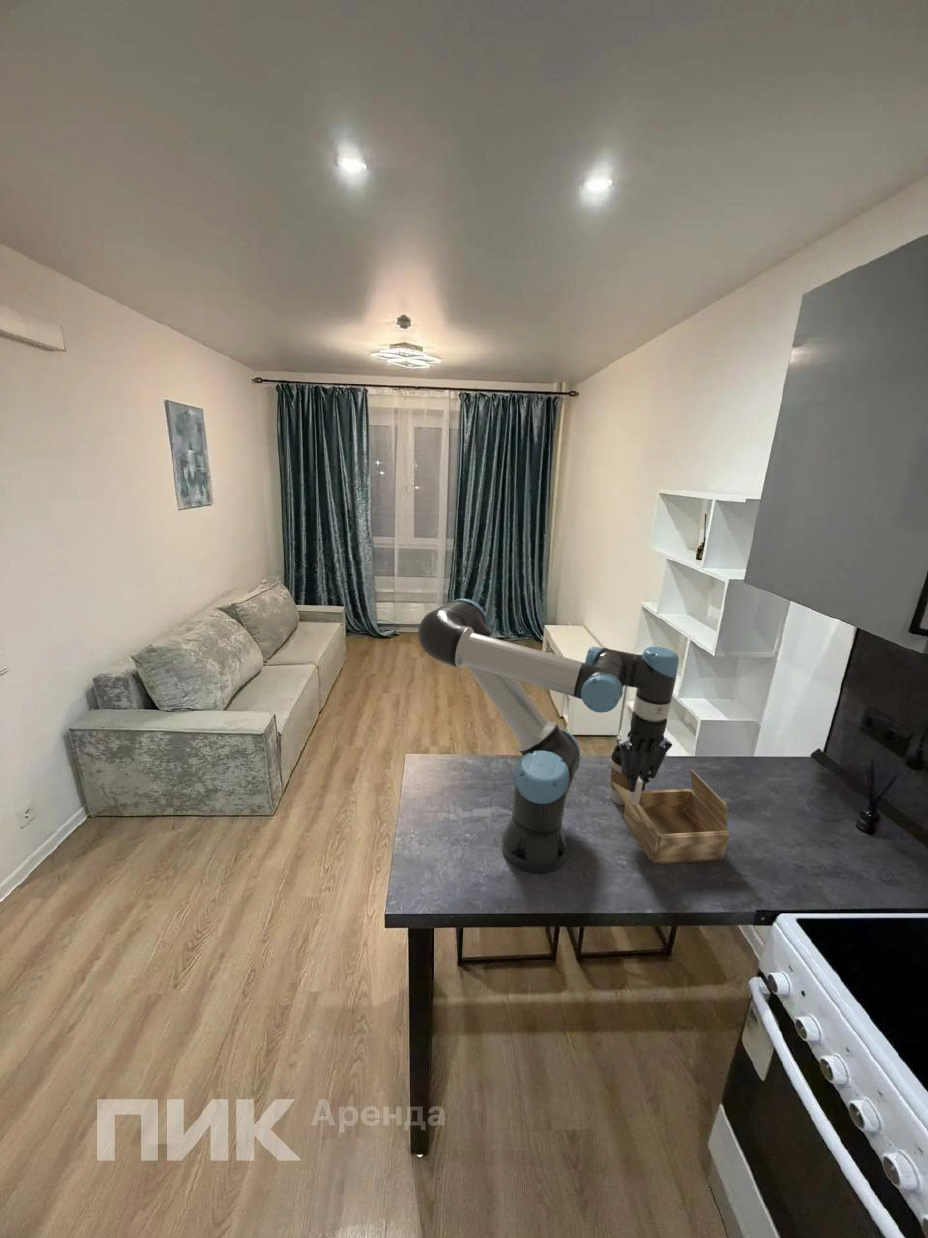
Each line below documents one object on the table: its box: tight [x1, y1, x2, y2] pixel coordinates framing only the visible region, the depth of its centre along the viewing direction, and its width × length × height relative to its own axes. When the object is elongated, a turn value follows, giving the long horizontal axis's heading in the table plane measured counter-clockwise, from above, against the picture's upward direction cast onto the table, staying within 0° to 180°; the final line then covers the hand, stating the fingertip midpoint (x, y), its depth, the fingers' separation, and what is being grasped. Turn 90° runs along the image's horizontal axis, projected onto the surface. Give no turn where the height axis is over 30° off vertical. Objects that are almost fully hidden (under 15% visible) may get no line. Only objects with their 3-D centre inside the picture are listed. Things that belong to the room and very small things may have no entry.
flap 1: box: [612, 782, 658, 831], centre depth 121 cm, size 1×14×6 cm
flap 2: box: [690, 768, 728, 828], centre depth 123 cm, size 1×14×6 cm, turn 8°
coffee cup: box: [609, 744, 633, 806], centre depth 138 cm, size 8×8×15 cm
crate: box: [622, 788, 731, 865], centre depth 124 cm, size 18×17×8 cm
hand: (633, 801), depth 121 cm, fingers closed
